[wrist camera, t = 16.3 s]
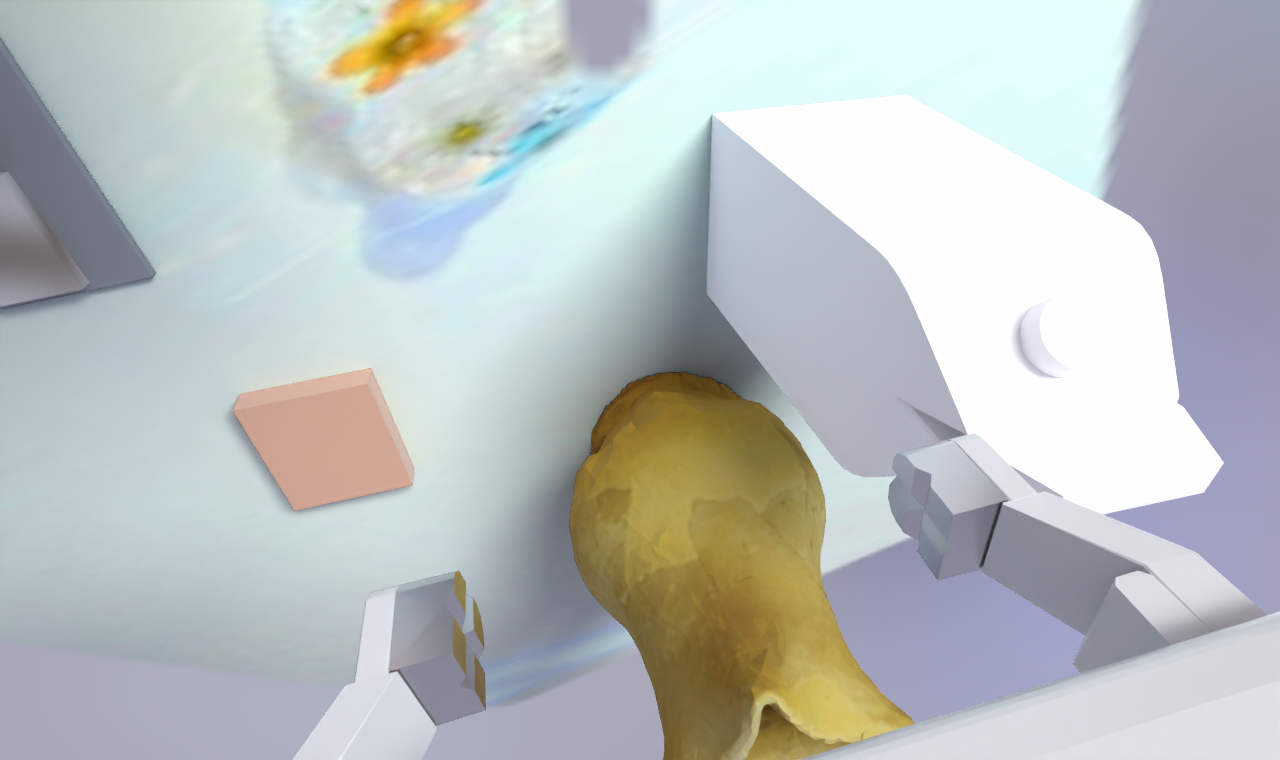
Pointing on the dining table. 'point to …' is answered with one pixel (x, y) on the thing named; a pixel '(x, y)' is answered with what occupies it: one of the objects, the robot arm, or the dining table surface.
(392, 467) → the tile
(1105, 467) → the milk
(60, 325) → the dining table surface
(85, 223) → the pad
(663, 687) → the pitcher
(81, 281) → the brown block
